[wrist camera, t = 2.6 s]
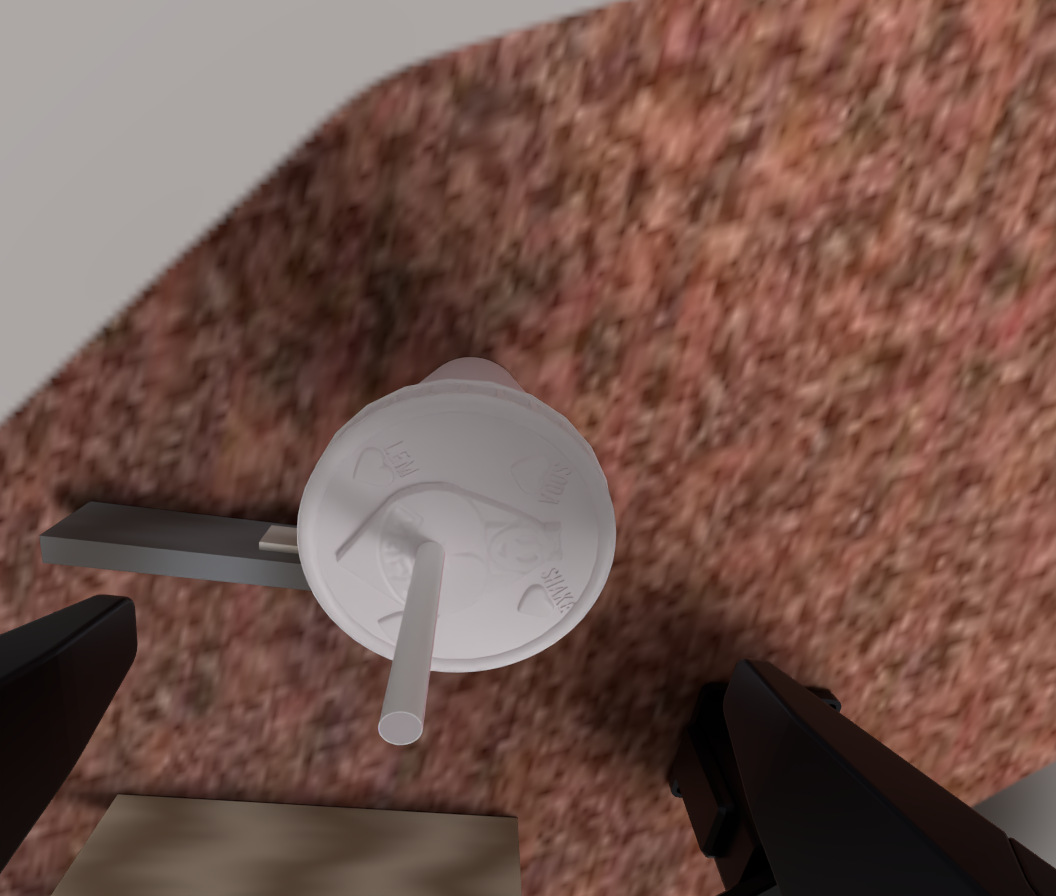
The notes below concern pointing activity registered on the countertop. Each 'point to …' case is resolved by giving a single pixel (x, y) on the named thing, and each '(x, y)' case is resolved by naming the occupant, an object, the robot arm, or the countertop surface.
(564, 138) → the countertop surface
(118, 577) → the countertop surface
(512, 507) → the smoothie
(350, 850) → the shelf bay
